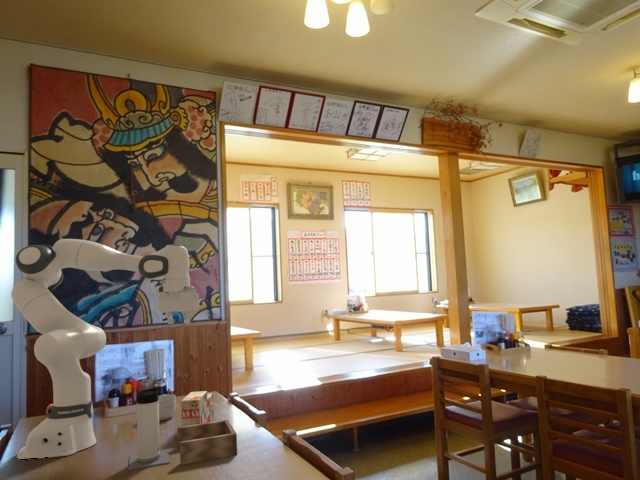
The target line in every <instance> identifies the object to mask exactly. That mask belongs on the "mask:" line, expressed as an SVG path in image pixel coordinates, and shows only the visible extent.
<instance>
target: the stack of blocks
mask: <svg viewBox="0 0 640 480" xmlns="http://www.w3.org/2000/svg"><path fill="white" fill-rule="evenodd" d="M214 408H215V407H214V393H212V392H211V393H208V391H207V390H203V391H202V390H201V391H191V392H189V393H188V394H187V395H186V396H184V398H183V399H182V400H181V427H183V426H189V425H196V424H202V423H209V422H212V420H213V419H214V416H215V414H214V412H215V410H214Z"/></svg>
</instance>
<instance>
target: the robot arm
mask: <svg viewBox="0 0 640 480" xmlns="http://www.w3.org/2000/svg"><path fill="white" fill-rule="evenodd" d="M15 263H16V266H17V269H18V270H19V271H20V272H21V273H22V275H23V276H24V277H23V279H22V281H19V282H18V283H16V285H14V286H13V287H12V289H11V294H10V295H11V298H12V301H13V303H14V304H15V306H16V307H17V309H18V311H19V312H20V314H21V315H22V316H23V317H24V318H25V320H27V322H28V324H30V325H31V327H33V329H34V330H35V331H36V332H37V333H40V334H41V335H40V336H39V337H38V338H37V339H36V341H35V343H34V346H33V351H34V356H35V358H36V360H37V361H38V362H40V363H41V364H43V365H44V366H45V367H46V368H47V370H48V372H49V374H50V377H51V381H52V391H53V392H52V393H53V395H52V396H53V403H51V404H48V406H47V407H46V410H45V414H46V418H44V420H42V421H41V422H40V423H39V424H37V426H36V427H34V428H33V429H32V430H31V431H30V432H29V433H28V436H27V438H26V442H25V446H23V447H21V449H19V450H18V451H17V453H16V459H17V458H19V459H24V458H38V459H46V458H45V457H48V458H56V457H65V456H66V457H67V456H70V455H73V454H76V453H77V452H79V451H82V450H85V449H87V448H88V449H89V448H90V447H92V446H93V445H95V444H96V443H97V438H96V436H95V431H94V425H93V419H92V417H93V415H94V410H93V409H94V407H93V406H94V403H93V399H92V382H91V381H92V380H91V376H90V374H88V373H87V372H86V371H83V369H82V367H81V362H80V360H81V359H85V358H90V357H92V356H94V355H96V354H98V353H100V352H101V351H103V349H104V348H105V347H106V344H107V335H106V332H105V331H104V330H103V329H102V328H101V327H100V326H96V325H93V324H91V323H89V322H86V321H85V320H83V319H81V318H80V317H78V316H77V315H75V314H74V313H72V312H71V311H70V310H68V309H67V308H66V307H65V306H64V305H63V304H62V303H61V302H60V300H58V299H57V297H55V295H54V294H53V293H52V292H53V290H55V289H56V288H58V287H59V286H60V285H61V284H62V282H63V280H64V271H63V269H67V268H72V269H78V270H81V271H82V270H83V271H95V272H97V271H98V272H99V271H113V270H122V271H123V270H124V271H130V272H136V273H139V274H140V276H141V277H143V278H145V279H147V280H152V281H153V280H154V281H155V280H156V281H165V282H164V283H163V284H162V285H161V284H160V286H158V287H157V290H156V291H157V293H158V297H157V308H158V310H159V313H165V317H166V318H167V324H168V325H174V324H175V319H174V318H173V313H177V312H178V313H181V312H183V313H184V312H185V313H184V314H185V318H183V324H184V325H190V324H191V319H192V315H193V312H198V311H199V310H200V307H201V306H200V300H199V294H198V289H197V288H196V287H195V286H193V285H191V278H190V274H189V273H190V272H189V271H190V255H189V251H188V248H187V247H185V246H183V245H180V244H174V243H173V244H171V243H169V244H167V245H165V247H163V248H161V249H160V250H158V251H155V252H152V253H150V254H145V255H144V256H141V255H134V254H129V253H124V252H122V251H119V250H116V249H114V248H112V247H109V246H107V245H105V244H101V243H99V242H96V241H92V240H88V239H87V240H86V239H81V238H80V239H79V238H78V239H77V238H61V239H59V240H57V241H56V242H55V243H54V244H53V246H51V245H50V244H46V243H45V244H33V245H31V244H30V245H28V246H25V247H23V248H21V249H20V250H19V251H18V252H17V254H16V255H15Z"/></svg>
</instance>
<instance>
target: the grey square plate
mask: <svg viewBox="0 0 640 480" xmlns="http://www.w3.org/2000/svg"><path fill="white" fill-rule="evenodd" d="M159 452H160V457H159V458H158V459H157V460H155V461H152V462H147V463H141V462H138V461H137V454H134V455H130V456H129V461H128V471H133V470H135V471H136V470H139V469H144V468H145V469H146V468H151V467H156V466H163V465H167V464H168V465H169V464H170V455H169V449H164V450H160V451H159Z"/></svg>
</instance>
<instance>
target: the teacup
mask: <svg viewBox="0 0 640 480" xmlns="http://www.w3.org/2000/svg"><path fill="white" fill-rule="evenodd" d="M158 398H159V421H165V420H168V419H170V418H172V417H173V415H174V414H175V413H176V410H177V402H176V401H177V400H176V399H177V398H176V394H175V395H174V394H162V395H158Z"/></svg>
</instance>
